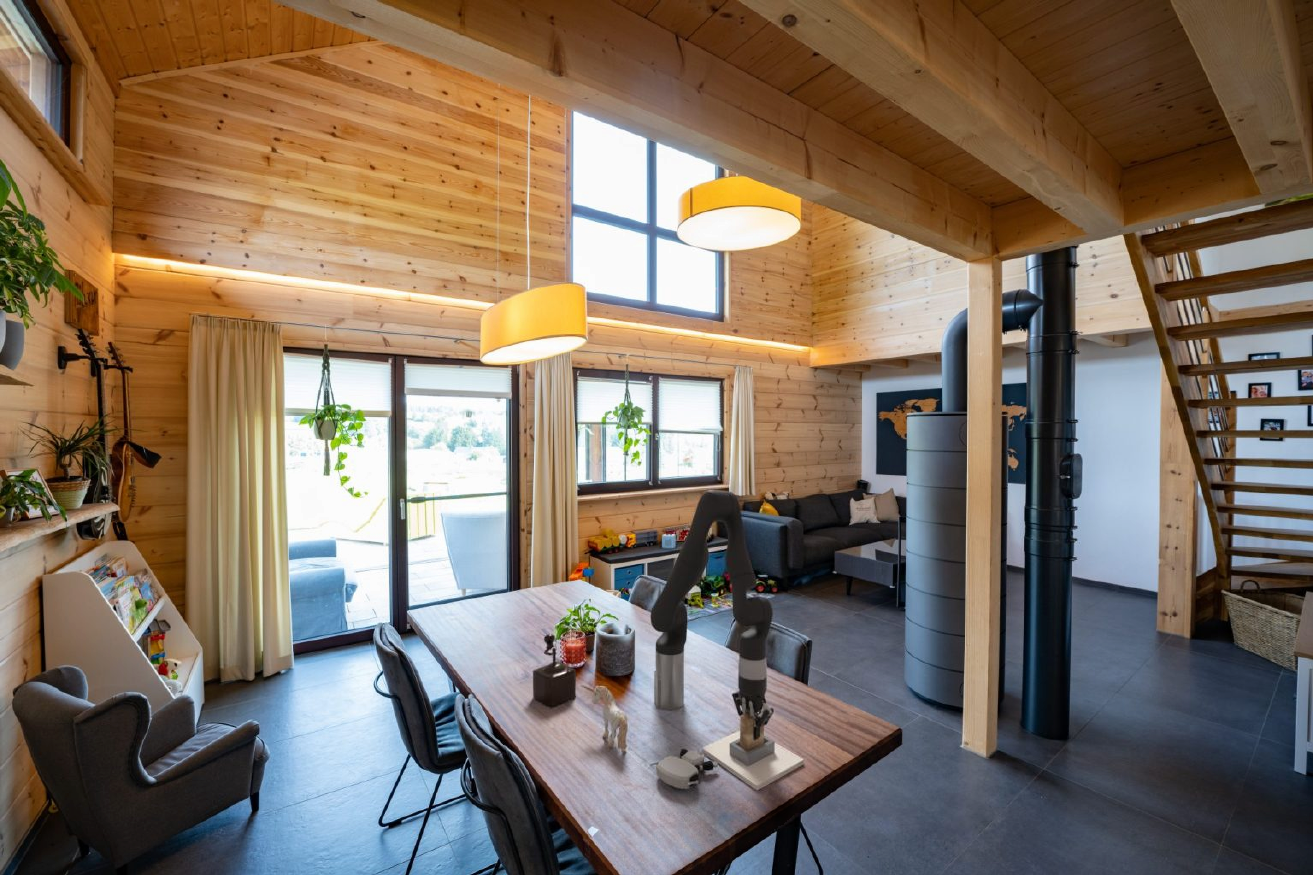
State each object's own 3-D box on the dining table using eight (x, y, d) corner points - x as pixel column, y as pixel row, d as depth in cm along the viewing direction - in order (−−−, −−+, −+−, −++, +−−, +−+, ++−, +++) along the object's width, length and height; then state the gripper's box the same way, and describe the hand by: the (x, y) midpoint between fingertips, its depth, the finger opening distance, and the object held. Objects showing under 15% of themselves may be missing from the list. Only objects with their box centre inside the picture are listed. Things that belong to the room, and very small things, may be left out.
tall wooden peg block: (739, 749, 144) (740, 715, 144) (755, 742, 148) (755, 709, 148) (748, 754, 142) (748, 719, 142) (763, 747, 145) (764, 713, 146)
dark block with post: (578, 697, 178) (578, 642, 178) (550, 709, 170) (550, 652, 170) (550, 682, 189) (551, 631, 189) (523, 693, 181) (523, 639, 181)
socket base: (757, 790, 131) (757, 773, 131) (702, 752, 147) (702, 736, 147) (803, 763, 142) (803, 748, 142) (748, 730, 158) (748, 716, 158)
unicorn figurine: (599, 721, 163) (599, 677, 163) (642, 749, 149) (642, 700, 149) (580, 730, 158) (580, 684, 158) (622, 759, 144) (622, 709, 144)
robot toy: (682, 757, 146) (647, 780, 135) (683, 740, 147) (648, 761, 135) (720, 775, 139) (686, 801, 127) (721, 757, 139) (687, 781, 127)
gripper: (724, 667, 148) (724, 730, 148) (762, 685, 137) (762, 753, 137) (743, 660, 153) (743, 721, 153) (781, 677, 142) (781, 743, 142)
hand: (752, 736), depth 145 cm, fingers closed on tall wooden peg block, 2 cm apart
